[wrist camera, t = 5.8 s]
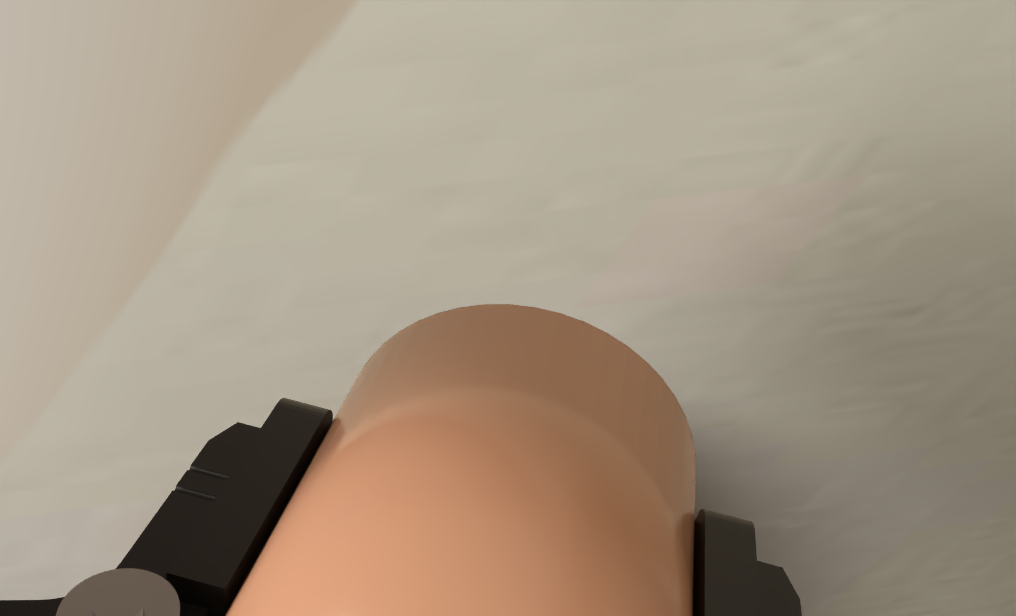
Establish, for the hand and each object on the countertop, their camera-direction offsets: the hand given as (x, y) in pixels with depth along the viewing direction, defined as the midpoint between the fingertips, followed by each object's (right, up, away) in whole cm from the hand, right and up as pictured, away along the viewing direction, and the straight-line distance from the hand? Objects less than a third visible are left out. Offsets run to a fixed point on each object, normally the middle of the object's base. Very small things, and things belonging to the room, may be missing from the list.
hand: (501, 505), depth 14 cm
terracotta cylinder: (0, +1, +1) cm, 1 cm away
